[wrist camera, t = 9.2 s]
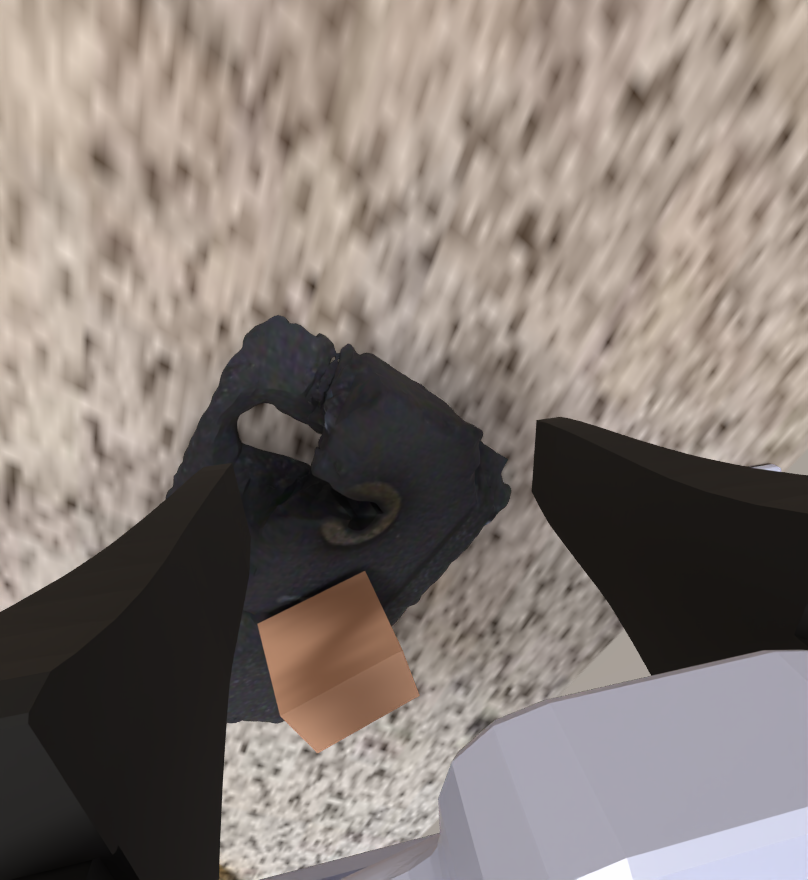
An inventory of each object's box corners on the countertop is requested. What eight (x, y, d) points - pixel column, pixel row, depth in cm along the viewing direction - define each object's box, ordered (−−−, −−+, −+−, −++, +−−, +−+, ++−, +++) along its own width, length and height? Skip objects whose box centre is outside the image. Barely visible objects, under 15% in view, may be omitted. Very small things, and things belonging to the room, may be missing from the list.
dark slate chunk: (44, 640, 25) (-9, 730, 20) (281, 277, 19) (276, 298, 15) (302, 719, 31) (303, 800, 27) (536, 460, 26) (582, 510, 21)
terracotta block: (364, 570, 22) (402, 649, 19) (385, 621, 25) (419, 695, 22) (257, 624, 21) (280, 716, 18) (294, 669, 24) (317, 753, 21)
